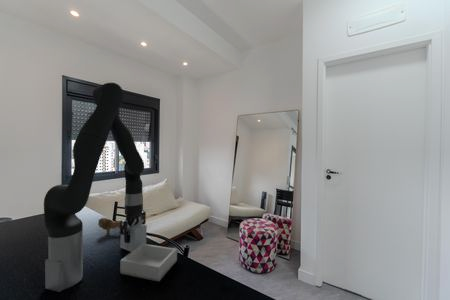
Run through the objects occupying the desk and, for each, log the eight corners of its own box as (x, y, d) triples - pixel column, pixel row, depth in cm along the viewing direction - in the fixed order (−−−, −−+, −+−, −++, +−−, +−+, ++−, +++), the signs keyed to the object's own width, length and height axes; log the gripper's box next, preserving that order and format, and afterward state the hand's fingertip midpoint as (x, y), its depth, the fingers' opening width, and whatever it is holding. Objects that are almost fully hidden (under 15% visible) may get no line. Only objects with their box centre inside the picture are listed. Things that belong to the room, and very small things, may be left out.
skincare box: (147, 247, 92) (147, 224, 92) (134, 253, 86) (134, 229, 86) (132, 241, 97) (132, 219, 97) (119, 247, 92) (119, 224, 92)
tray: (159, 281, 71) (159, 267, 70) (120, 273, 75) (120, 260, 74) (176, 260, 83) (176, 248, 83) (142, 255, 87) (142, 243, 87)
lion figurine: (96, 238, 102) (96, 220, 102) (99, 233, 107) (99, 216, 107) (129, 234, 107) (129, 217, 106) (130, 230, 112) (130, 214, 111)
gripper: (129, 208, 84) (129, 247, 84) (150, 199, 98) (150, 233, 98) (114, 206, 86) (114, 244, 86) (137, 198, 99) (137, 231, 100)
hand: (133, 238), depth 92 cm, fingers closed on skincare box, 7 cm apart
